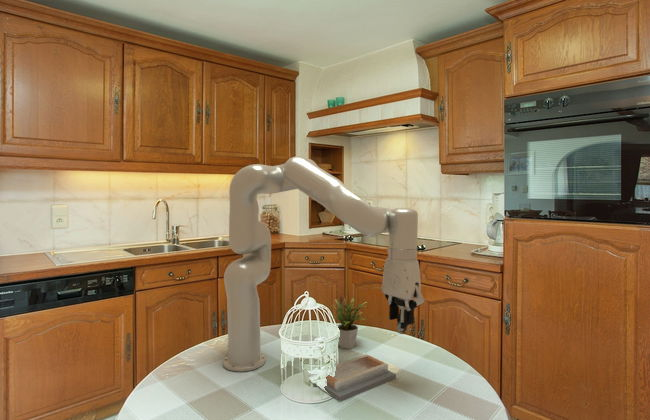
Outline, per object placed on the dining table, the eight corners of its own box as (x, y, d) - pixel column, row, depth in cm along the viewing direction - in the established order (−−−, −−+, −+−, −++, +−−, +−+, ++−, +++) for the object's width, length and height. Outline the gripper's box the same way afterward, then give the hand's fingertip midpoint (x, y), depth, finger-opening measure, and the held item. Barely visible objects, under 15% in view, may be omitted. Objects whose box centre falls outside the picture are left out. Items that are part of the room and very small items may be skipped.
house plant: (372, 356, 124) (372, 304, 123) (328, 355, 124) (328, 304, 123) (368, 338, 138) (368, 292, 137) (328, 338, 138) (328, 292, 137)
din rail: (316, 378, 106) (316, 370, 106) (366, 361, 117) (366, 354, 117) (337, 392, 99) (337, 383, 99) (388, 372, 110) (388, 364, 110)
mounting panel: (309, 381, 107) (309, 377, 107) (363, 362, 119) (363, 358, 119) (339, 401, 97) (339, 396, 97) (395, 378, 109) (395, 373, 109)
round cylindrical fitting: (411, 337, 103) (413, 300, 102) (390, 334, 104) (393, 297, 104) (412, 328, 109) (414, 293, 109) (392, 326, 111) (394, 291, 110)
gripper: (370, 251, 110) (369, 315, 111) (418, 260, 97) (416, 333, 98) (389, 249, 115) (388, 311, 116) (437, 257, 101) (435, 327, 102)
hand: (401, 320), depth 107 cm, fingers closed on round cylindrical fitting, 4 cm apart
